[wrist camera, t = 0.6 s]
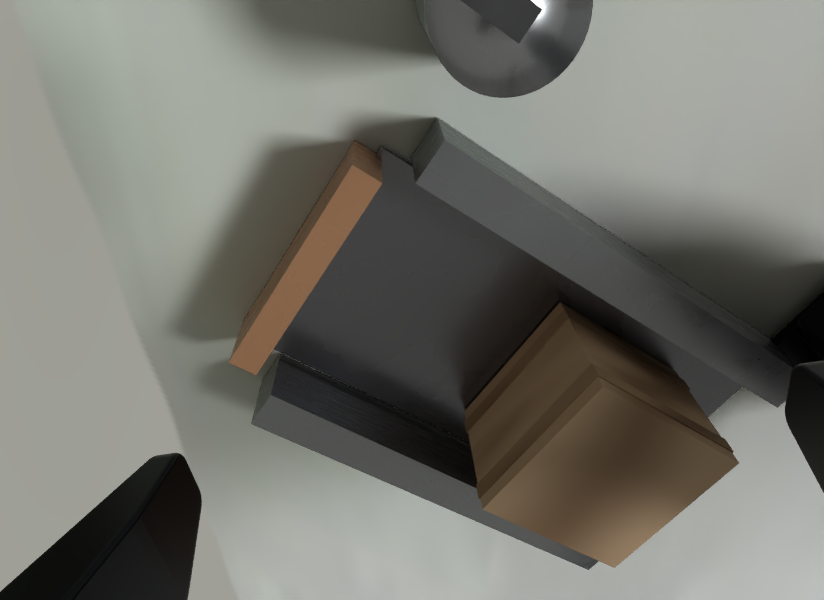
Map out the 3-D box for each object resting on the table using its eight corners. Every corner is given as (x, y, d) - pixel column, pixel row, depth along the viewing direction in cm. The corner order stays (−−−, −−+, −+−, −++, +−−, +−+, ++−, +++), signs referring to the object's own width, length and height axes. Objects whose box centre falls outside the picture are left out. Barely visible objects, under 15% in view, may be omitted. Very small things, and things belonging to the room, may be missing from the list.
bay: (894, 242, 23) (1035, 325, 18) (580, 526, 30) (621, 642, 25) (433, -135, 16) (456, -165, 12) (168, 337, 23) (114, 443, 18)
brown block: (677, 371, 25) (741, 462, 20) (576, 468, 27) (614, 568, 23) (559, 300, 23) (603, 384, 19) (462, 412, 25) (480, 510, 21)
